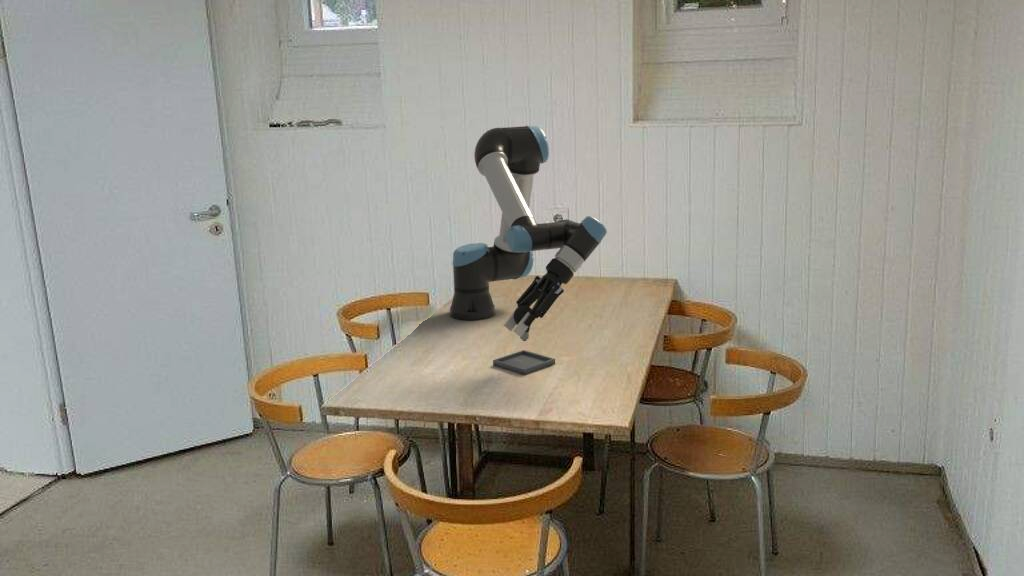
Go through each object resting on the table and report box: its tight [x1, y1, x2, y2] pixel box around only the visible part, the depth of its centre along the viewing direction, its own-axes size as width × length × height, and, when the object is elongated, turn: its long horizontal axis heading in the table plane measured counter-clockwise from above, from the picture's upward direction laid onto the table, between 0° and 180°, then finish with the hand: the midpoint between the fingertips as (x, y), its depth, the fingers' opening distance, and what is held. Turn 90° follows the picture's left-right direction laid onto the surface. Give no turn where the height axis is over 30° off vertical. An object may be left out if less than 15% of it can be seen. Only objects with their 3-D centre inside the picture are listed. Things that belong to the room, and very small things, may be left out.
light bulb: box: [513, 305, 532, 342], centre depth 249 cm, size 6×6×10 cm
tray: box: [492, 349, 556, 376], centre depth 252 cm, size 12×12×2 cm
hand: (512, 330), depth 248 cm, fingers closed on light bulb, 6 cm apart
